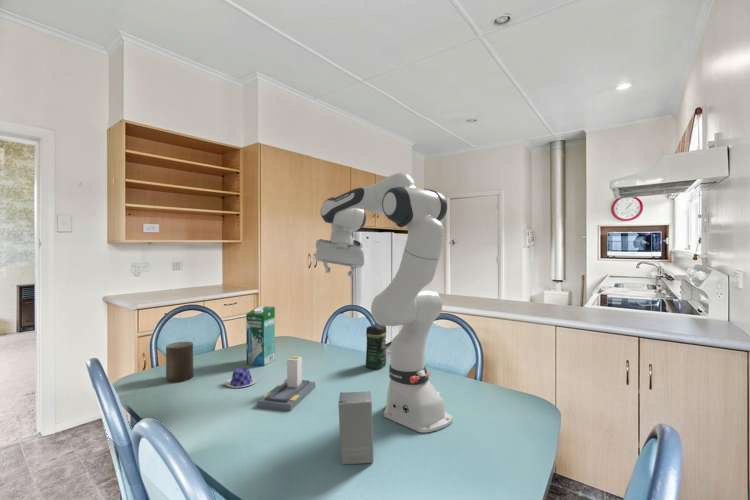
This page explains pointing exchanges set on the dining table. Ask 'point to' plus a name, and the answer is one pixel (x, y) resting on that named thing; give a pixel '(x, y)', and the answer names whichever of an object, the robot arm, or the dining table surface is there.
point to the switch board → (286, 396)
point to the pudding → (241, 378)
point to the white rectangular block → (294, 371)
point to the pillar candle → (179, 361)
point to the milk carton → (260, 335)
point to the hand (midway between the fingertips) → (339, 274)
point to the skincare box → (355, 428)
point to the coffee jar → (376, 346)
